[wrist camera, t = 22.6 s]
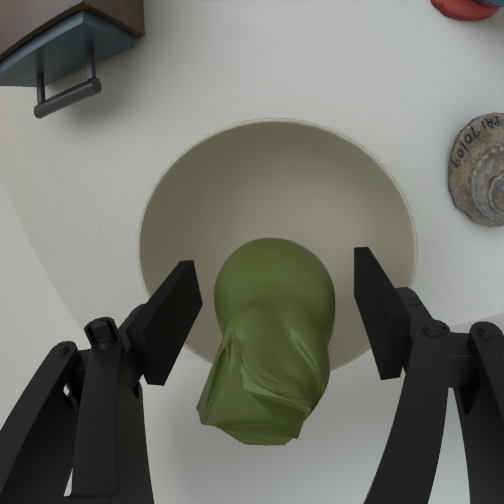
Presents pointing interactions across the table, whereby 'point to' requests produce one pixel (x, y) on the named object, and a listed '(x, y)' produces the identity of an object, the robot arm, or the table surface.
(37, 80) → the drawer
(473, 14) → the stacking bear
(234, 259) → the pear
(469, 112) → the table surface
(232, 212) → the bowl
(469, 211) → the fossilized seashell
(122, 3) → the cabinet
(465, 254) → the table surface
